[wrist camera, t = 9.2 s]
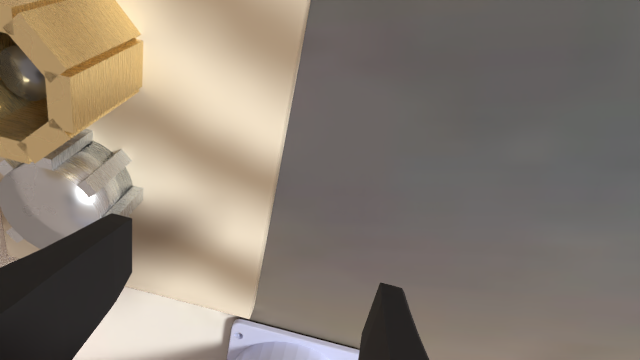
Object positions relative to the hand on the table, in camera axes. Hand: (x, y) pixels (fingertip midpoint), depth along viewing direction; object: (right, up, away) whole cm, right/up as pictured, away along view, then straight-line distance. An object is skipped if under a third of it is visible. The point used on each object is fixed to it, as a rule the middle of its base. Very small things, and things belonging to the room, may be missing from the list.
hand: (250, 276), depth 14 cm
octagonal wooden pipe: (-8, +8, +6) cm, 13 cm away
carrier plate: (-7, +6, +9) cm, 12 cm away
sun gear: (-9, +3, +11) cm, 14 cm away
